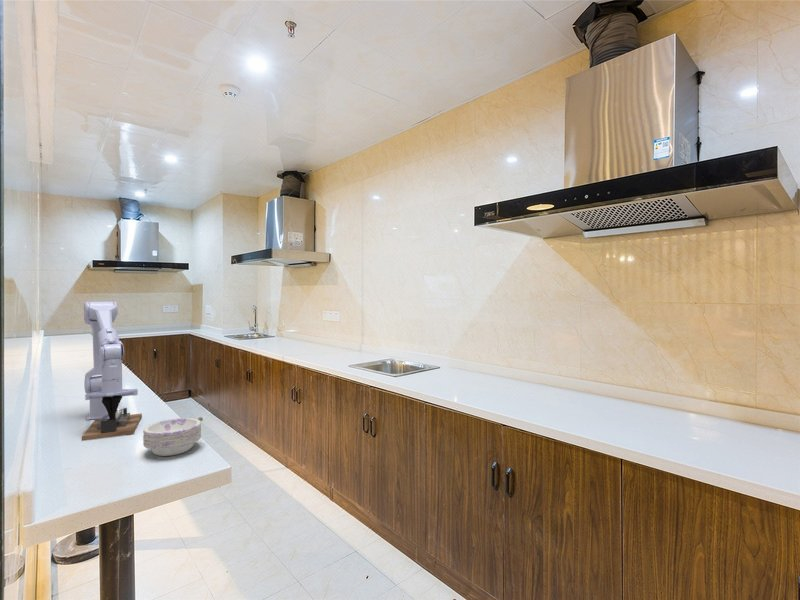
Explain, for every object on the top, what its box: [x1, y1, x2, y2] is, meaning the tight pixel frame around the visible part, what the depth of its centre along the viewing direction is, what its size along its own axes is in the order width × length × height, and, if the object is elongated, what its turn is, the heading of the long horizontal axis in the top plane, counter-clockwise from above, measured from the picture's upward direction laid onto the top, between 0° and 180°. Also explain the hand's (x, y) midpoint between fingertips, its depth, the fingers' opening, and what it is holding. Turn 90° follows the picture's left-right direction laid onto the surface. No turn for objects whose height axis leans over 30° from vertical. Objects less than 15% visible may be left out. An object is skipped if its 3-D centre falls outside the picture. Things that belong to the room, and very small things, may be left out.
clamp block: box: [97, 407, 131, 433], centre depth 140 cm, size 16×8×4 cm, turn 26°
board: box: [81, 413, 143, 442], centre depth 141 cm, size 20×14×2 cm
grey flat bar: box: [107, 408, 123, 420], centre depth 141 cm, size 14×3×1 cm, turn 26°
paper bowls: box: [142, 417, 202, 457], centre depth 122 cm, size 15×15×8 cm
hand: (112, 418), depth 138 cm, fingers closed, pressing on grey flat bar
